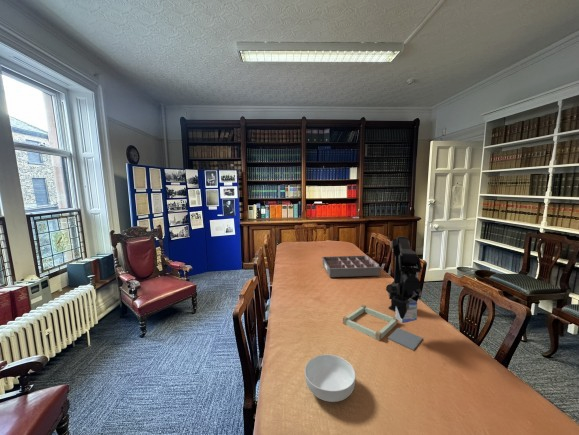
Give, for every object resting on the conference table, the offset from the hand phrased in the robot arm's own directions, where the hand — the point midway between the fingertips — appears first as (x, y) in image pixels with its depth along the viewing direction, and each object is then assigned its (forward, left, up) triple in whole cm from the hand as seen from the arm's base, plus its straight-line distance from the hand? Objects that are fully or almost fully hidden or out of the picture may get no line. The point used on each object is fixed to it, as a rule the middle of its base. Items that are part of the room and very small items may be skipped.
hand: (406, 314), depth 105 cm
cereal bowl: (+46, -7, -12) cm, 48 cm away
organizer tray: (-58, -67, -12) cm, 89 cm away
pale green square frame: (0, -17, -12) cm, 21 cm away
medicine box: (0, 0, -3) cm, 2 cm away
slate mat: (0, 0, -12) cm, 12 cm away
